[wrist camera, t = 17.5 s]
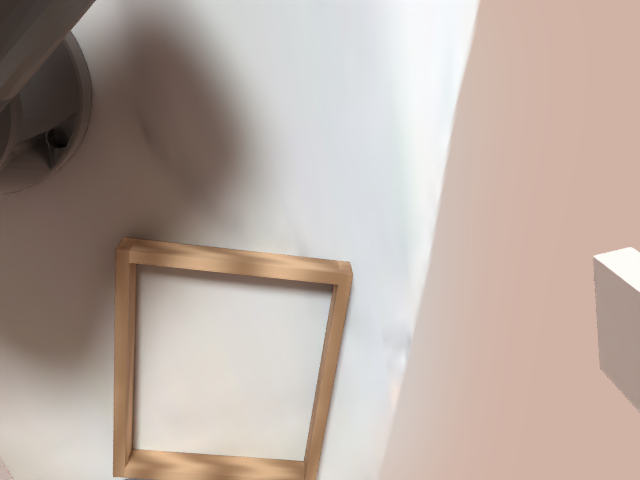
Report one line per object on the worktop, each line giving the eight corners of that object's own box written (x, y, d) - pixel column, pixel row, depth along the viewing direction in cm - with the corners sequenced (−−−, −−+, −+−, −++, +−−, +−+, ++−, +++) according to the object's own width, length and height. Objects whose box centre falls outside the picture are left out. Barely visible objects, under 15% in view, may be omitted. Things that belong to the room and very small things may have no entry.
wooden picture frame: (120, 456, 52) (113, 476, 49) (124, 237, 44) (115, 249, 41) (312, 470, 53) (313, 489, 51) (349, 262, 46) (353, 274, 43)
